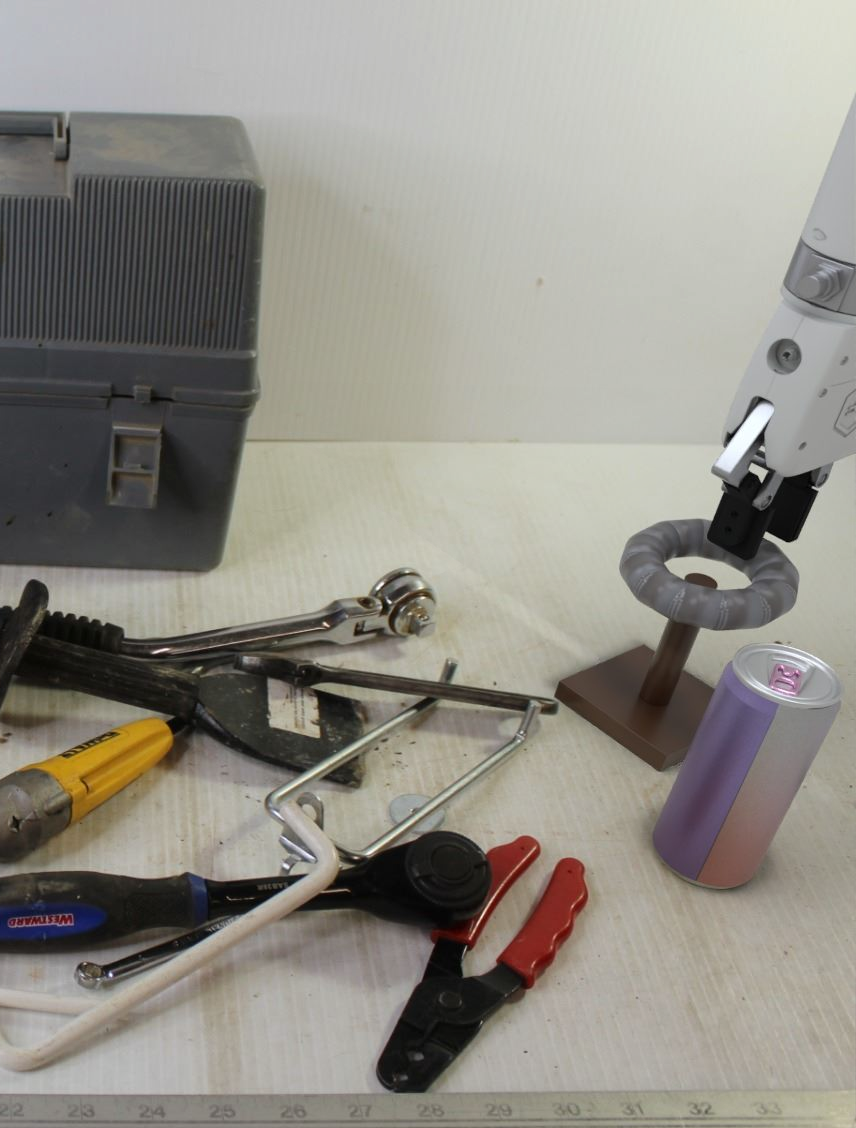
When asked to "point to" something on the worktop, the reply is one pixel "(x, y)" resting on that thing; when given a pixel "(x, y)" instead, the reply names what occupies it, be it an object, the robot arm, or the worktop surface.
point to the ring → (698, 603)
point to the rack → (646, 694)
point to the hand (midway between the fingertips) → (751, 538)
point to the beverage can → (746, 763)
